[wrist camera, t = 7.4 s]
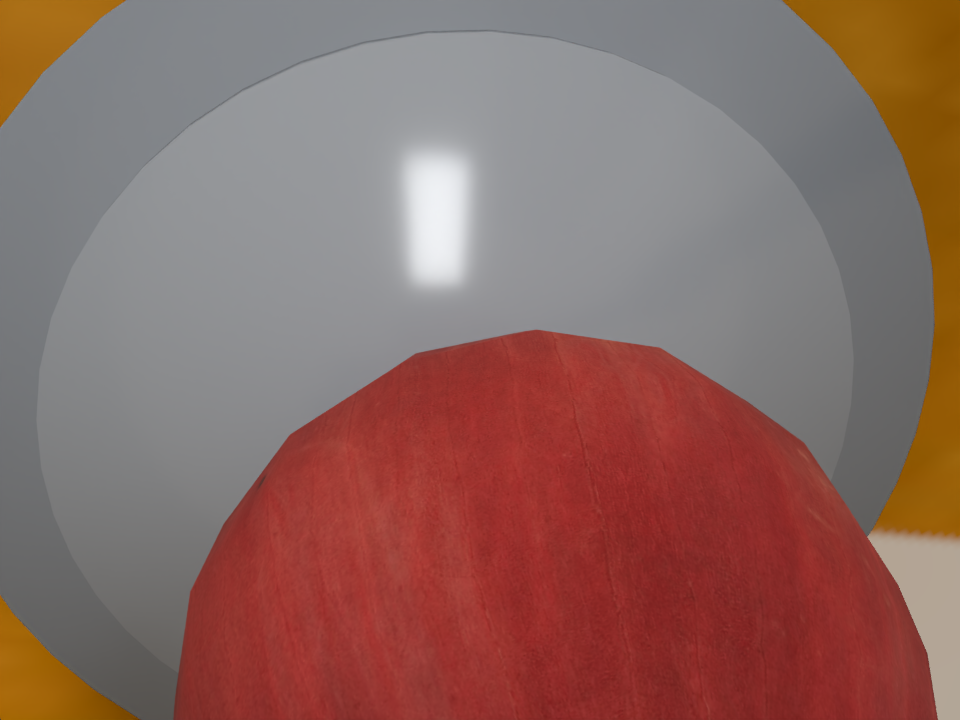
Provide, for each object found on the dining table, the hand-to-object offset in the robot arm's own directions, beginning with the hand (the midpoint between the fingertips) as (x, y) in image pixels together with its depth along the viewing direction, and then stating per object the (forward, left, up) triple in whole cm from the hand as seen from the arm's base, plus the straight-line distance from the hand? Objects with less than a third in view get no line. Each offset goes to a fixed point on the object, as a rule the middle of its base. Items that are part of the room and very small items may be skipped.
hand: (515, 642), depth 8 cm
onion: (0, 0, -3) cm, 3 cm away
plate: (0, 0, -5) cm, 5 cm away
